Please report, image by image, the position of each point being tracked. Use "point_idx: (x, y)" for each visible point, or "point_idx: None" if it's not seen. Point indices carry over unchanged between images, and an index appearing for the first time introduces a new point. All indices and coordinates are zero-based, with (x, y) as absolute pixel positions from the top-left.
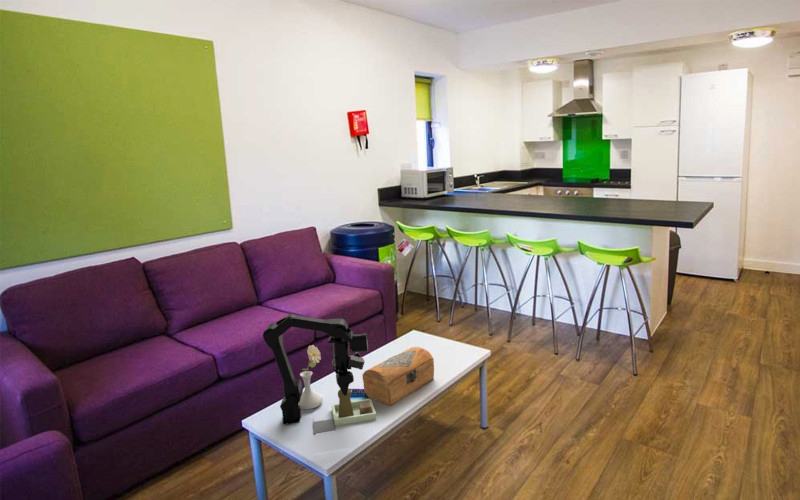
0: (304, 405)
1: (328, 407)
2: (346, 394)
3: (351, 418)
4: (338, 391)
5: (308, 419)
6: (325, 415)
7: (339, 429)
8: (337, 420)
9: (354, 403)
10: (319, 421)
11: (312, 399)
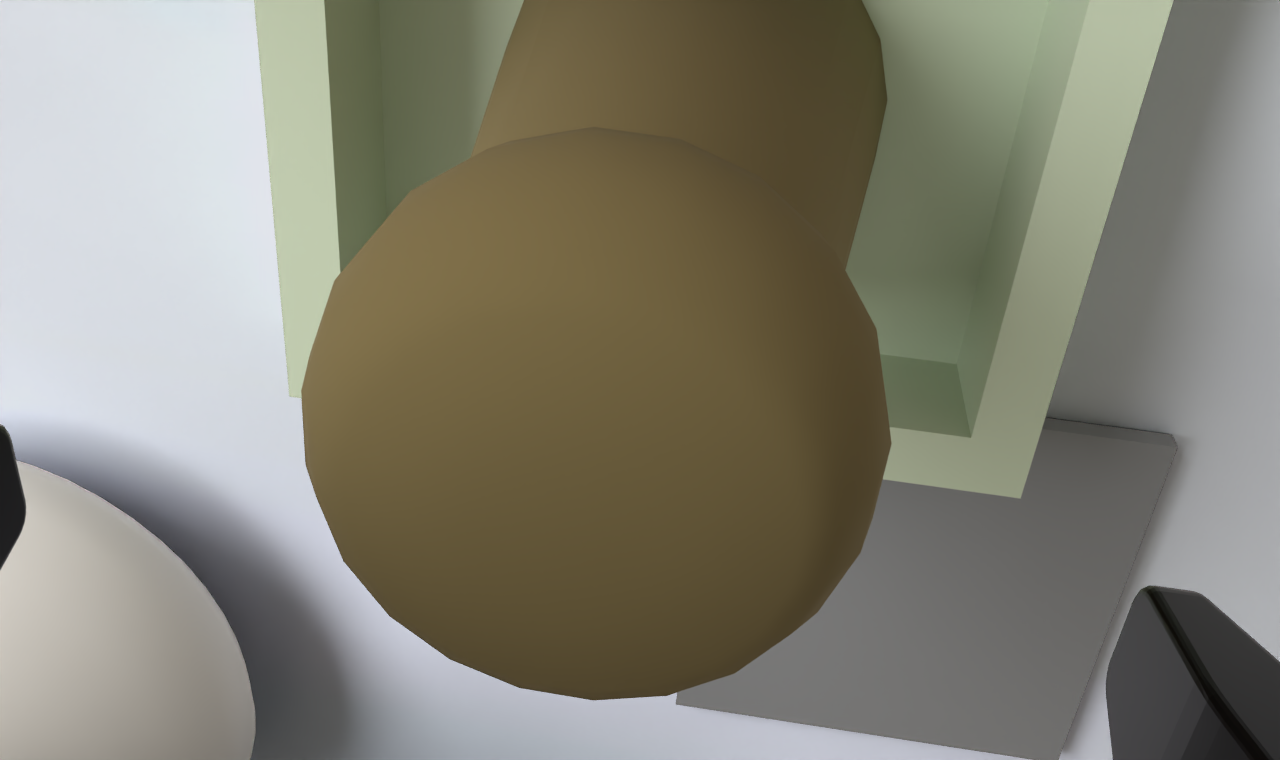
0: None
1: (201, 354)
2: (1220, 636)
3: (1136, 95)
4: (524, 684)
5: (535, 716)
6: None
7: (1171, 360)
8: (1035, 428)
9: None
10: None
11: (90, 725)
